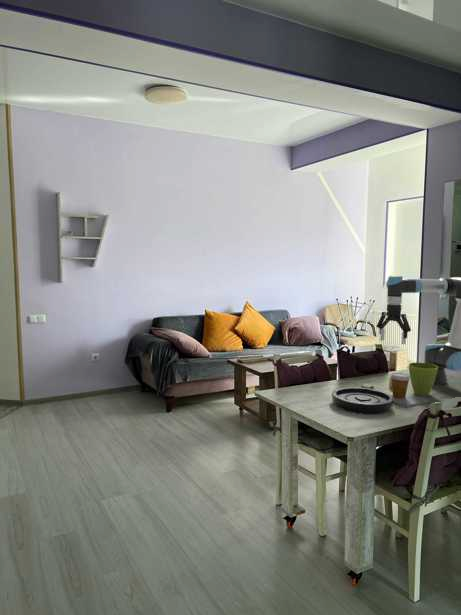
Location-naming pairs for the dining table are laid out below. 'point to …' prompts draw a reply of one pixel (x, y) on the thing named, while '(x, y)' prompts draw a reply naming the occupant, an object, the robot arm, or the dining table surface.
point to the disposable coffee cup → (399, 384)
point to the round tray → (362, 400)
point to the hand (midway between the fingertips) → (392, 342)
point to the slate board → (409, 401)
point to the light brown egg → (390, 382)
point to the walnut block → (367, 386)
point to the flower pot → (422, 377)
